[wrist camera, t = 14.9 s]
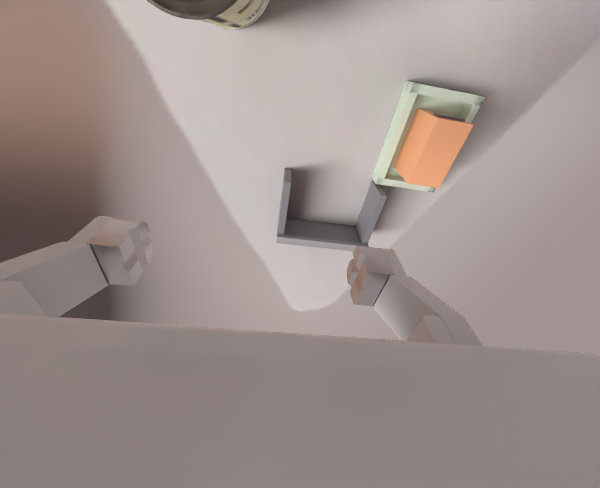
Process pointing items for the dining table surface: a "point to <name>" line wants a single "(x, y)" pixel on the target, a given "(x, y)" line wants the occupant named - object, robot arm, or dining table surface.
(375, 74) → the dining table surface
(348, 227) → the bay
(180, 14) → the coffee can
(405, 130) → the tray
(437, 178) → the orange block
